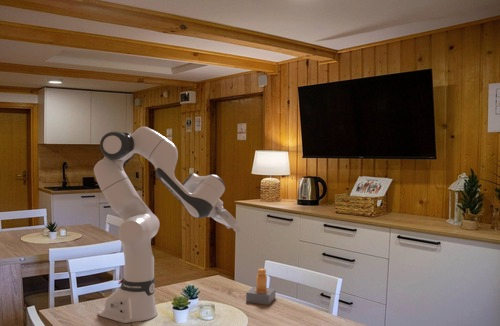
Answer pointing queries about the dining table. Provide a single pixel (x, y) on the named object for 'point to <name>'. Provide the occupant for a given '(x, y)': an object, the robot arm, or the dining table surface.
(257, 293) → the grey square platform
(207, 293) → the dining table surface
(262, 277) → the orange bottle
